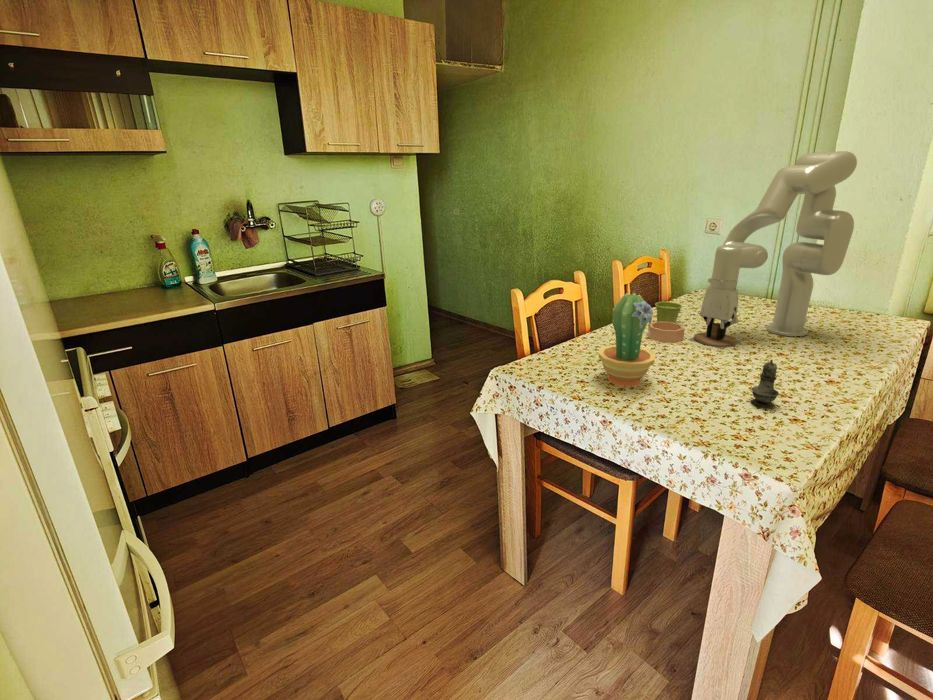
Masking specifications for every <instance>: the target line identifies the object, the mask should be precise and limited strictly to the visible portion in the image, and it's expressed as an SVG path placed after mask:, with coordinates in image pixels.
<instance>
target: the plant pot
mask: <svg viewBox="0 0 933 700" xmlns="http://www.w3.org/2000/svg"><path fill="white" fill-rule="evenodd" d="M654 306H655V309H656V322H657V321H659V322H673V323H677V319H678V317H679V313H680V312H681V309H683V305H682V304H680V303H677V302H673V301H671V302H670V301H657V302H656V303H654Z"/></svg>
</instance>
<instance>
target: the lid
mask: <svg viewBox="0 0 933 700" xmlns="http://www.w3.org/2000/svg"><path fill="white" fill-rule="evenodd" d="M720 325H721V322H714V323H712V328H711V335H710V337H707V333H706V331H705V332H704V331H703V332H698V333H695V334H694V335H693V338H694V340H695V341H696V342H695V341H694V342H695V343H699V344H702V345H704V346H709V347H712V346H716V347H726V348H729V347H733V346H735V345H737V344H736V342H737V341H738V340H737V339H736V338H735V337H733V336H731V335H728V334H725V337H724V338H723V339H721V340H717V334H718V329H719V328H720ZM716 347H715V348H716Z"/></svg>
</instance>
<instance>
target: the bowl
mask: <svg viewBox="0 0 933 700" xmlns="http://www.w3.org/2000/svg"><path fill="white" fill-rule="evenodd" d="M647 330H648V331H647V332H648V333H647V336H648V339H650V340H654V341H655V342H656V341H657V342H660V343H679V342H681V341H684V336H685V327H684V326H683V324H680V323H677V322H676V323H673V322H659V321H657V320H656V321H654V322H651V324H649V323H648V329H647Z"/></svg>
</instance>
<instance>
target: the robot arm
mask: <svg viewBox="0 0 933 700" xmlns="http://www.w3.org/2000/svg"><path fill="white" fill-rule="evenodd" d="M857 164H858V160H857V157H856V154H854V153H853V152H851V151H847V150H845V151H843V150H842V151H841V150H840V151H839V150H838V151H815V152H810V153H804V154H802V155H800V156H798V158H797V159H796V161H795V164H793V165H786V166H784V167H781V168H779V170H778V171H777V172H776V174H775V175H774V177H773V178H772V181H771V182H770V184H769V186H768V188H767V190H766V191H765V193H764V195H763V197H762V198H761V200H760V202H759V204H758V206H757V207H756V209H754V210H753V211H752V212H751V213H750V214H748V215H747V216H745V217H744V218H742V219H741V220H740V221H739V222H737V224H735V226H734V227H733V228H732V229H731V230H730V231H729V233H728V235H727V237H726V238H725V240H724V242H723V245H719V246H718V247H717V248H716V249H715V254H714V262H713V269H712V273H711V274H712V275H711V277H709V278H708V279H707V282H708V283H710V284H709V285H710V286H707V288H706V291H705V294H704V296H703V299H702V304H701V309H700V311H699V313H698V315H699V316H700V317H701V318H702V319H703V320H704V322H705V325H706V331H705V332H706V333H707V337H710V335H711V328H712V323H715V320H718V321H720V324H721V325H720V328H719V329H718V334H717V340H721V339H723V338H724V337H725V335H726V334H727V329H728V328H729V327H730V326H731V325H734V324H735V325H736V324H738V323H739V318H738V314H737V313H738V307H739V291H738V288H737V285H738V280H739V273H740V269H758V268H760V267H762V266H763V265H764V264H765V263H766V262H767V260H768V257H769V254H768V251H767V249H766V248H765V247H764V246H762V245H759V244H753V243H749V242H745V241H746V240H747V239H748V238H749V237H750V236H751V235H753V234H754V233H755V232H757V231H758V230H761V229H763V228H766V227H769V226H771V225H775V224H777V223H780V222H781V221H783V220H784V219H785V217H786V216H787V214H788V212H789V210H790V209H791V207H792V205H793V204H794V202H795V200H796V198H797V197H798V195H804V197H803V201H802V204H801V209H800V212H799V215H798V218H797V223H796V230H795V231H796V233H797V235H798V236H799V237H800V238H805V239H811V240H818V241H819V240H820V241H823V244H821V243H820V244H819V243H816V242H814V243H813V242H805V241H799V242H798V241H797V242H792V243H790V244H789V245H788V246H787V247H786V248H785V249H784V251H783V253H782V263H781V265H782V270H781V271H782V272H781V280H780V286H779V289H778V296H777V300H776V305H775V309H774V315H773V320H772V323H771V324H768V325H766V328H765V329H766V331H768V332H770V333H772V334H775V335H779V336H784V337H793V336H794V337H797V336H800V337H805V335H806V336H807V335H808V334H809V330H808V329H807V328H805V324H806V323H808V319H807V314H808V311H809V307H810V306H809V305H810V302H811V298H812V292H813V290H814V289H813V288H814V278H813V276H812V274H814V275H821V276H831V275H834V274H836V273H837V272H838V271H839V270H840V269H841V267H842V265H843V264H844V261H845V258H846V254H847V251H848V248H849V245H850V243H851V239H852V235H853V232H854V228H855V220H854V217H853V215H852V214H851V213H850V212H848V211H844V210H836V209H835V210H834V206H835V201H836V197H837V189H836V186H837V185H838V184H840V183H842V182H844V181H846V180H847V179H848V178H849V177H851V175H853V173H854V172H855V170H856V169H857Z"/></svg>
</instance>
